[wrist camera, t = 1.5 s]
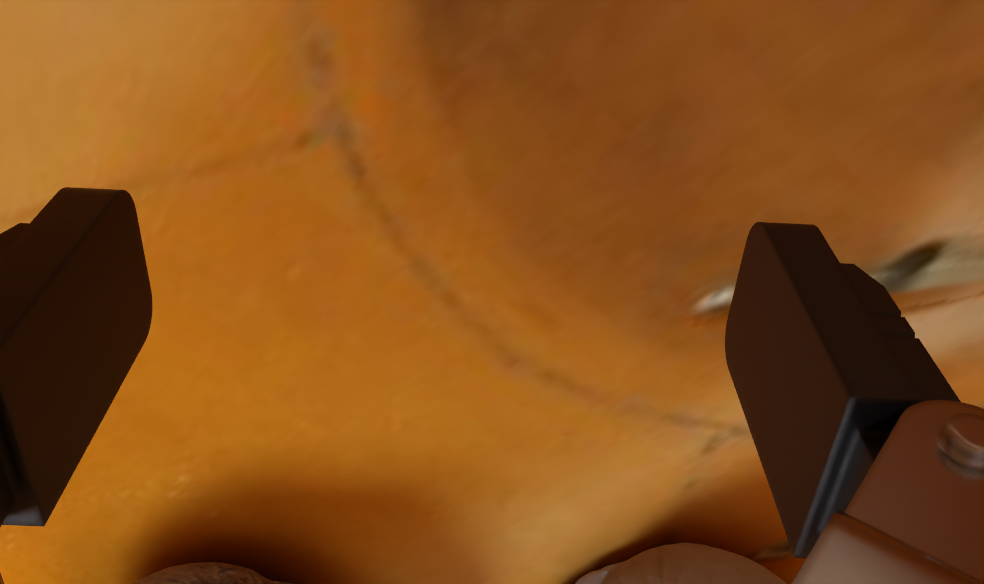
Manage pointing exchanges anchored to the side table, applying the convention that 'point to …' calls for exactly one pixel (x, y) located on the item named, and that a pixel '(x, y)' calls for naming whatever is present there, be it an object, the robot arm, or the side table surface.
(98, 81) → the side table surface
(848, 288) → the robot arm
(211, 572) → the fossil
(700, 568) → the seashell
